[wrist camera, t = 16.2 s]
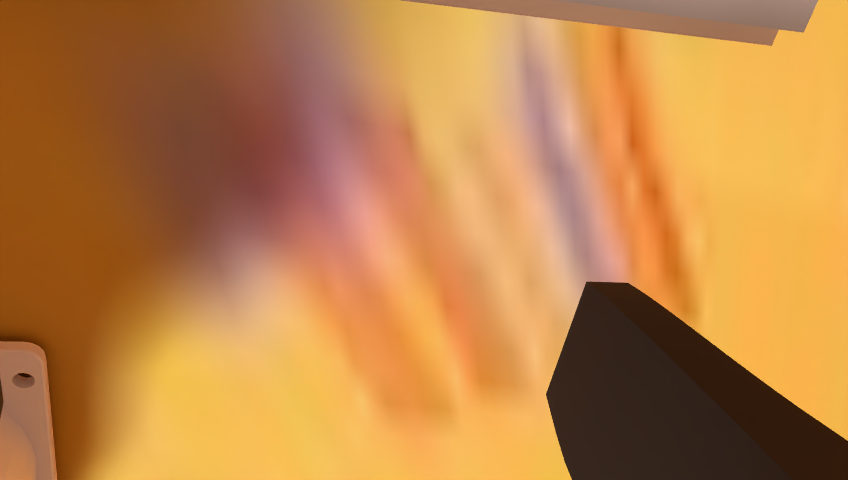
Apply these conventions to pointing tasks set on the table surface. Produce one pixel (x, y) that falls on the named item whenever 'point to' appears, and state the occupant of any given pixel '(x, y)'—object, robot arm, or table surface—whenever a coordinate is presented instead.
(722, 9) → the walnut board
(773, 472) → the robot arm
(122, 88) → the table surface
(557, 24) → the table surface
